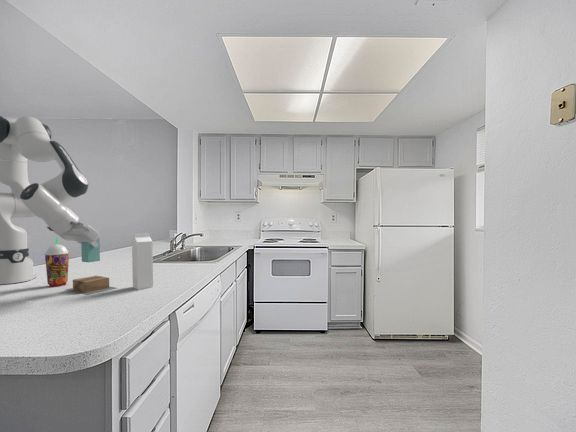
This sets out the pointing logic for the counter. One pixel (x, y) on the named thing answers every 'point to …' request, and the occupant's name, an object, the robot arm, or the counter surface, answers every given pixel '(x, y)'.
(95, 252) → the pillar
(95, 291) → the mat
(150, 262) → the milk
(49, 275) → the smoothie
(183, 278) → the counter surface
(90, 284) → the base slab
